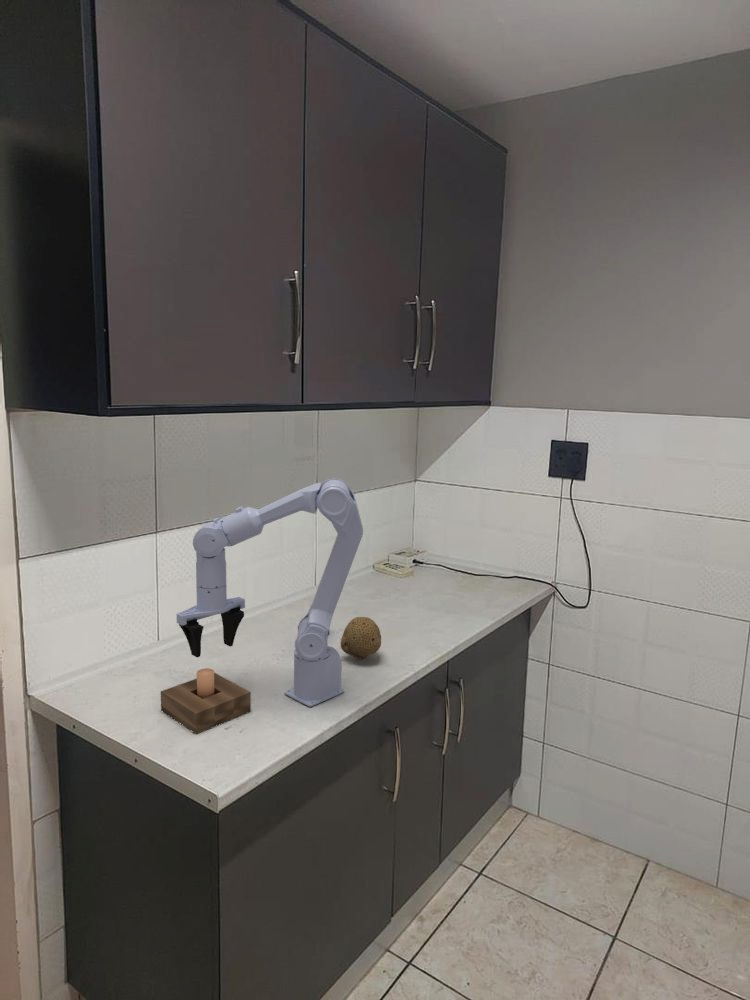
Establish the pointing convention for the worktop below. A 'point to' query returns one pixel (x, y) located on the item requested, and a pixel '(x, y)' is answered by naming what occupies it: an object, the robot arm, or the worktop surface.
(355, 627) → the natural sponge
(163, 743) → the worktop surface
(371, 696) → the worktop surface
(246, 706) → the walnut socket block
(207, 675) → the terracotta peg
